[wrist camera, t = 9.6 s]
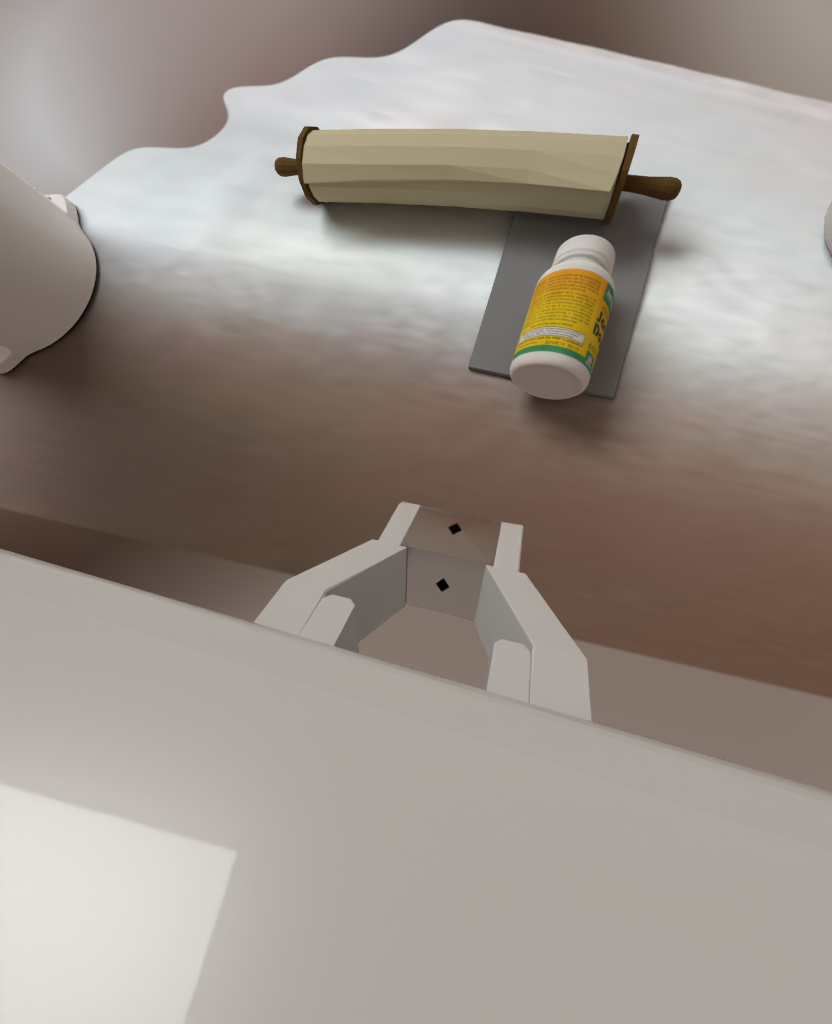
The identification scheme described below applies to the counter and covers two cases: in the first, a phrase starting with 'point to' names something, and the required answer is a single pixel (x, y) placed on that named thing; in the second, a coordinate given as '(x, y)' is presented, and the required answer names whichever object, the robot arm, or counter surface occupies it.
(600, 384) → the mat
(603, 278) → the supplement bottle
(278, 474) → the counter surface
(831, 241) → the supplement can
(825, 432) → the counter surface
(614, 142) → the rolling pin
